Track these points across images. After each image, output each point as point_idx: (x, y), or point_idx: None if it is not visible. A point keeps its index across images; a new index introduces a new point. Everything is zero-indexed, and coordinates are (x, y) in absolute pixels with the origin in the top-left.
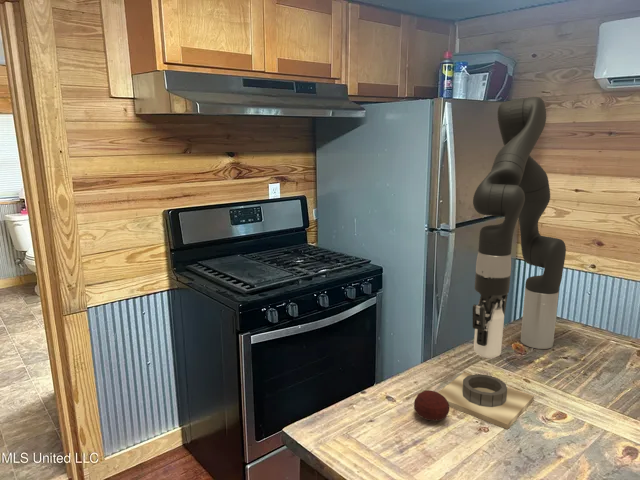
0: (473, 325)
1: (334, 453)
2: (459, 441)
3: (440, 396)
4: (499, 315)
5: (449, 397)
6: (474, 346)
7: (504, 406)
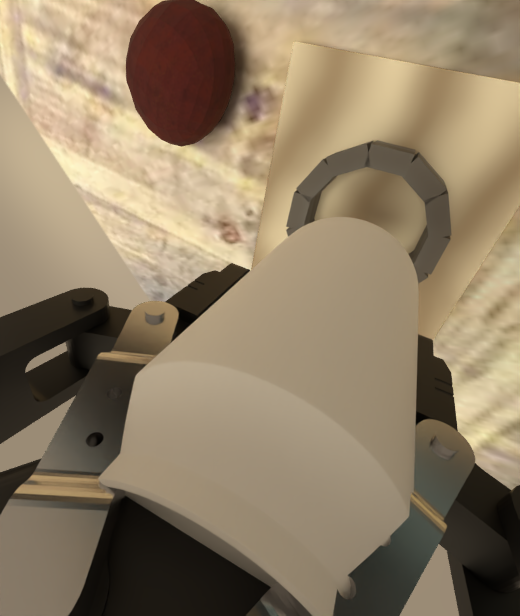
0: (55, 303)
1: None
2: (160, 188)
3: (163, 110)
4: None
5: (305, 107)
6: (298, 231)
7: None
